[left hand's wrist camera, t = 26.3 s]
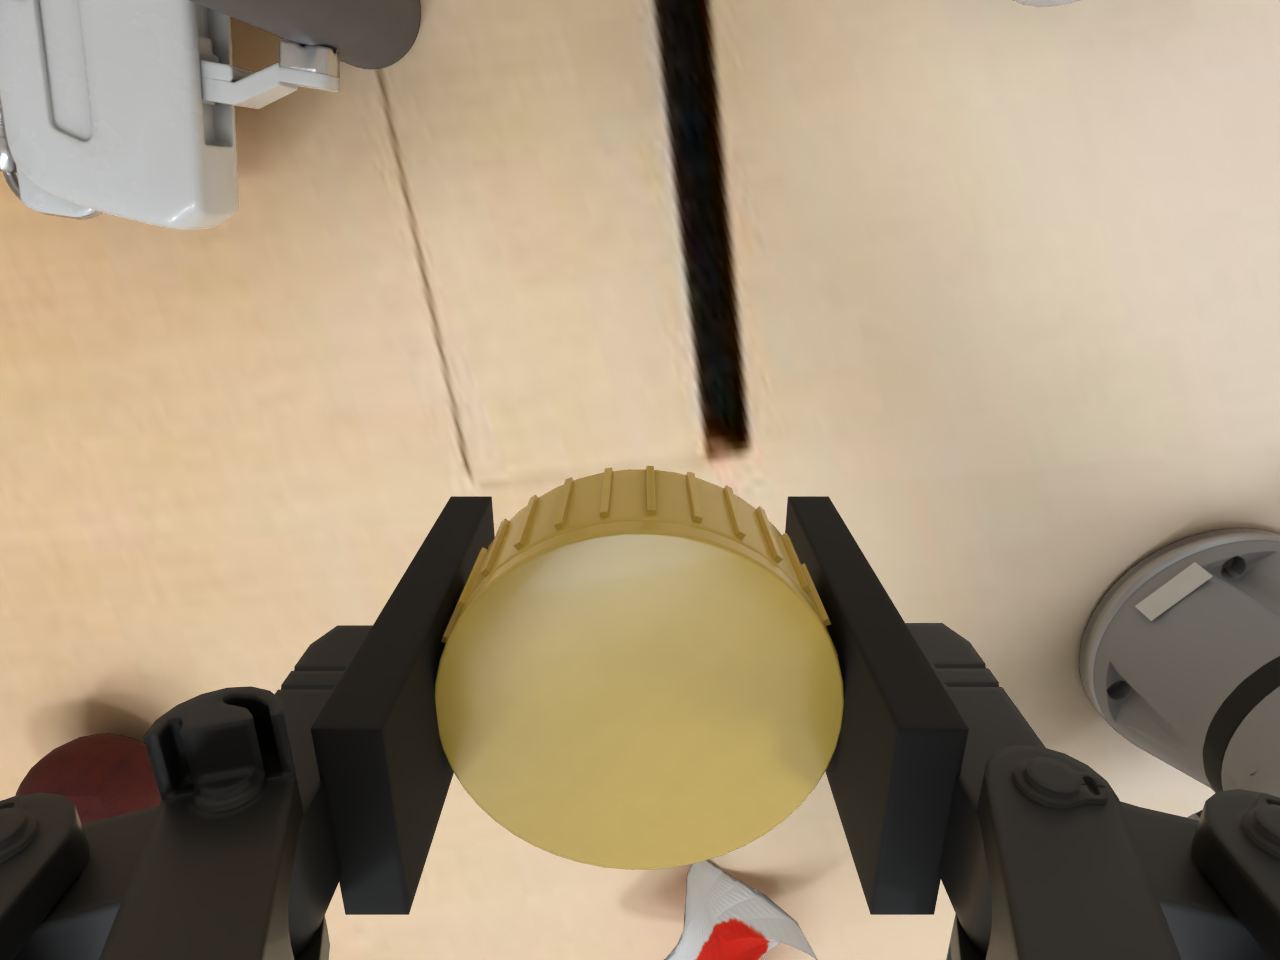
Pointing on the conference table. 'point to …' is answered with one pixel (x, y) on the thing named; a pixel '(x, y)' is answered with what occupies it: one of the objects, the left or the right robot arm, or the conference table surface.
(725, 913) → the fish
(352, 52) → the dark grey cylinder
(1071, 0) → the projector
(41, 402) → the conference table surface
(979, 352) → the conference table surface
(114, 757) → the dark maroon ball
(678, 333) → the conference table surface
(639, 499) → the lid
